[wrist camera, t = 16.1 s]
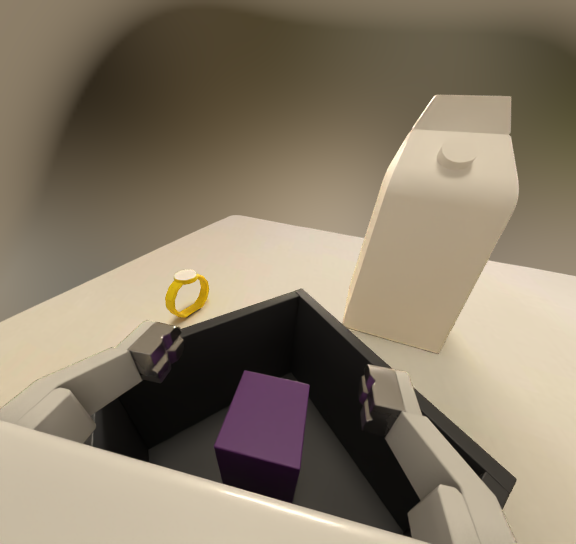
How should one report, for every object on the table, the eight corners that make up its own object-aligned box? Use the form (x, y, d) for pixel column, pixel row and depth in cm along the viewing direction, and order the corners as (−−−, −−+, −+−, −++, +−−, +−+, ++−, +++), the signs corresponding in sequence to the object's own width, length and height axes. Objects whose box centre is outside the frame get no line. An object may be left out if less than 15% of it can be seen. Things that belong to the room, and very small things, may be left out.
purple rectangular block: (285, 533, 14) (300, 470, 9) (230, 516, 14) (212, 446, 9) (294, 462, 17) (309, 383, 12) (249, 450, 17) (244, 369, 12)
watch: (181, 327, 28) (171, 290, 25) (166, 319, 29) (155, 282, 26) (214, 302, 33) (209, 268, 30) (200, 296, 34) (194, 262, 31)
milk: (423, 300, 37) (516, 107, 24) (438, 353, 28) (608, 83, 14) (350, 283, 40) (395, 104, 27) (341, 326, 31) (405, 81, 17)
